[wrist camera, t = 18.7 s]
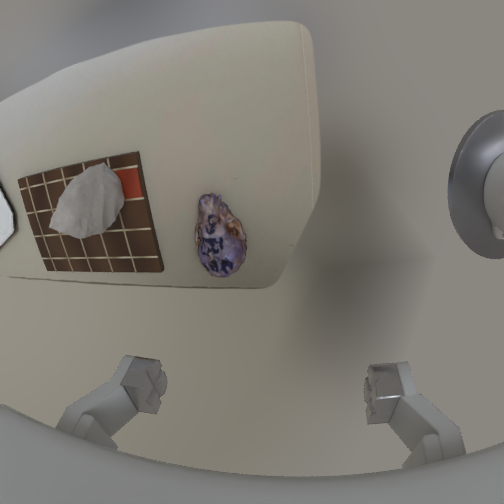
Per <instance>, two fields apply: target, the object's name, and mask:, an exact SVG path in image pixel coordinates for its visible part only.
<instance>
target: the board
mask: <svg viewBox="0 0 504 504" xmlns="http://www.w3.org/2000/svg"><path fill="white" fill-rule="evenodd" d="M103 162H104V163H105V164H106V165H107V166H108V167H109V168H110V169H112V170H113V171H114V172H115V174H116V175H117V176H118V177H119V178H120V180H121V184H122V190H123V194H124V197H125V200H124V205H123V207H122V208H121V209H120V211H119V213H118V215H117V216H116V220H115V221H114V222H113V223H112V225H111V226H110V227H108V228H107V229H106V230H105V232H104V233H102V234H96V235H91V236H90V237H86V238H81V239H80V238H75V237H73V236H71V235H68V234H64V233H59V232H58V231H56V230H54V229H52V228H49V225H50V223H51V217H52V216H53V214H54V212H55V211H56V209H57V204H58V201H59V197H61V195H62V194H63V192H64V190H65V189H66V187H67V186H68V185H69V183H70V181H71V180H72V179H74V178H75V177H76V176H77V175H79V174H81V173H82V172H84V171H85V170H86V169H87V168H89V167H91V166H95V165H99V164H101V163H103ZM18 183H19V187H20V191H21V195H22V198H23V202H24V205H25V209H26V212H27V213H26V214H27V215H28V218H29V222H30V225H31V228H32V231H33V234H34V237H35V240H36V242H37V245H38V248H39V251H40V253H41V256H42V259H43V261H44V264H45V266H46V269H47V271H72V272H74V271H81V272H135V273H137V272H162V271H163V270H164V265H163V262H162V258H161V254H160V250H159V245H158V241H157V237H156V233H155V228H154V224H153V220H152V215H151V210H150V206H149V201H148V196H147V191H146V186H145V181H144V176H143V171H142V166H141V160H140V154H139V151H137V152H131V153H126V154H120V155H115V156H110V157H105V158H100V159H95V160H90V161H86V162H81V163H77V164H73V165H68V166H64V167H60V168H56V169H52V170H48V171H45V172H41V173H37V174H33V175H30V176H26V177H23V178H20V179H18Z"/></svg>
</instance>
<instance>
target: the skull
mask: <svg viewBox="0 0 504 504" xmlns="http://www.w3.org/2000/svg"><path fill="white" fill-rule="evenodd" d="M198 220H199V222H198V224H197V226H196V228H195V243H196V245H197V246H198V255H199V258H200V261H201V264H202V265H203V266H204V267H205V268H206V269H207V271H208V272H209V273H210V274H211V275H212V276H216V277H222V278H224V277H228V276H229V275H231V274H232V273H234V272H236V271H237V270H238V269H239V267H240V266H241V264H242V263H243V262H244V260H245V256H246V249H247V246H246V235H245V234H244V232H243V229H242V225H241V222H240V221H239V220H238V219H237V218H235V217H234V216H233V215H232V213H231V211H230V210H229V209H228V206H227V205H226V204H225V203H224V202H223V204H222V202H221V195H219V197H218V198H216V196H215V194H213V193H211V195H210V194H207V195H205V194H204V195H203V196H201V198H200V200H199V219H198ZM199 227H201V231H202V240H200V238H199V231H198V230H199ZM231 231H232V232H231ZM236 231H238V235H237V234H236Z"/></svg>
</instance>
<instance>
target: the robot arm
mask: <svg viewBox="0 0 504 504" xmlns="http://www.w3.org/2000/svg"><path fill="white" fill-rule="evenodd" d="M483 198H484V206H485V210H486V212H487V215H488V217H489V218H490V220H491V223H492V231H493V235H494V237H495V238H497V239H504V153H502V154H501V155H500V156H499V157H498V158H497V159H496V160H495V161H494V162H493V164H492V165H491V167H490V169H489V171H488V174H487V176H486V180H485V184H484V193H483ZM161 367H162V365H161V363H160V360H156V359H149V358H142V357H137V356H130V355H126V356H124V357H123V358H122V360H121V362H120V364H119V366H118V367H117V369H116V371H115V373H114V375H113V377H112V378H111V380H110V382H109V383H108V382H106V383H104V384H103V385H101V386H100V387H98V388H97V389H95V390H94V391H92V392H90V393H89V394H87V395H86V396H84V397H82V398H81V399H79V400H78V401H76V402H74V403H73V404H71V405H70V406H68V407H67V408H66V410H65V412H64V414H63V416H62V417H61V419H60V421H59V423H58V424H57V426H56V428H53V427H51V426H49V425H46V424H44V423H42V422H39V421H37V420H35V419H33V418H31V417H29V416H27V415H25V414H22V413H20V412H18V411H16V410H15V409H12V408H11V407H9V406H7V405H4V404H0V504H504V442H503V443H500V444H497V445H494V446H491V447H488V448H485V449H482V450H479V451H476V452H472V453H469V454H466V451H465V447H464V443H463V439H462V436H461V432H460V428H459V427H458V426H457V425H456V424H455V423H454V422H452V421H451V420H450V419H449V418H448V417H447V416H446V415H445V414H443V413H442V412H441V411H440V410H439V409H437V407H435V406H434V405H433V404H432V403H431V402H430V401H429V400H427V399H426V398H425V397H424V396H423V395H422V394H417V390H416V387H415V383H414V380H413V376H412V373H411V369H410V366H409V364H408V362H398V363H385V364H374V365H369V367H368V371H367V372H368V377H367V378H365V383H364V399H365V400H364V401H365V402H366V403H367V404H368V405H367V408H366V416H367V424H380V423H388V424H389V425H390V426H391V428H392V429H393V430H394V431H395V433H396V434H397V435H398V436H399V437H400V439H401V440H402V441H403V442H404V444H405V445H406V446H407V447H408V448H409V450H410V451H411V452H412V453H411V455H410V456H409V457H408V458H407V460H406V461H405V462H404V463H403V465H402V467H403V469H397V470H390V471H382V472H376V473H365V474H354V475H341V476H320V477H319V476H318V477H283V476H261V475H260V476H259V475H247V474H237V473H227V472H219V471H212V470H205V469H198V468H192V467H186V466H181V465H176V464H171V463H166V462H161V461H157V460H152V459H148V458H144V457H140V456H136V455H132V454H128V453H125V452H122V451H118V450H117V448H118V447H117V445H116V443H115V442H114V441H113V440H112V439H111V438H110V437H111V436H112V435H114V434H115V433H116V432H117V431H118V430H119V429H121V428H122V427H123V426H124V425H125V424H126V423H127V422H129V421H130V420H131V419H132V418H133V417H134V416H135V415H136V414H138V411H139V412H145V413H151V414H157V412H158V409H159V407H160V404H161V400H160V397H161V396H162V395H163V394H165V391H166V388H167V376H166V374H165V372H164V371H162V370H161Z"/></svg>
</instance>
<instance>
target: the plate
mask: <svg viewBox="0 0 504 504" xmlns="http://www.w3.org/2000/svg"><path fill="white" fill-rule="evenodd" d="M14 230H15V229H14V214H13V211H12V209H11V207H10V205H9V204H8V202H7V200H6V198H5V196H4V194H3V192H2V190H1V188H0V246H1V245H2V244H3V243H4V242H5V241H6V240H7V239H8V238H9V237H10V236H11V235H12V234H13V233H14Z"/></svg>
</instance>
